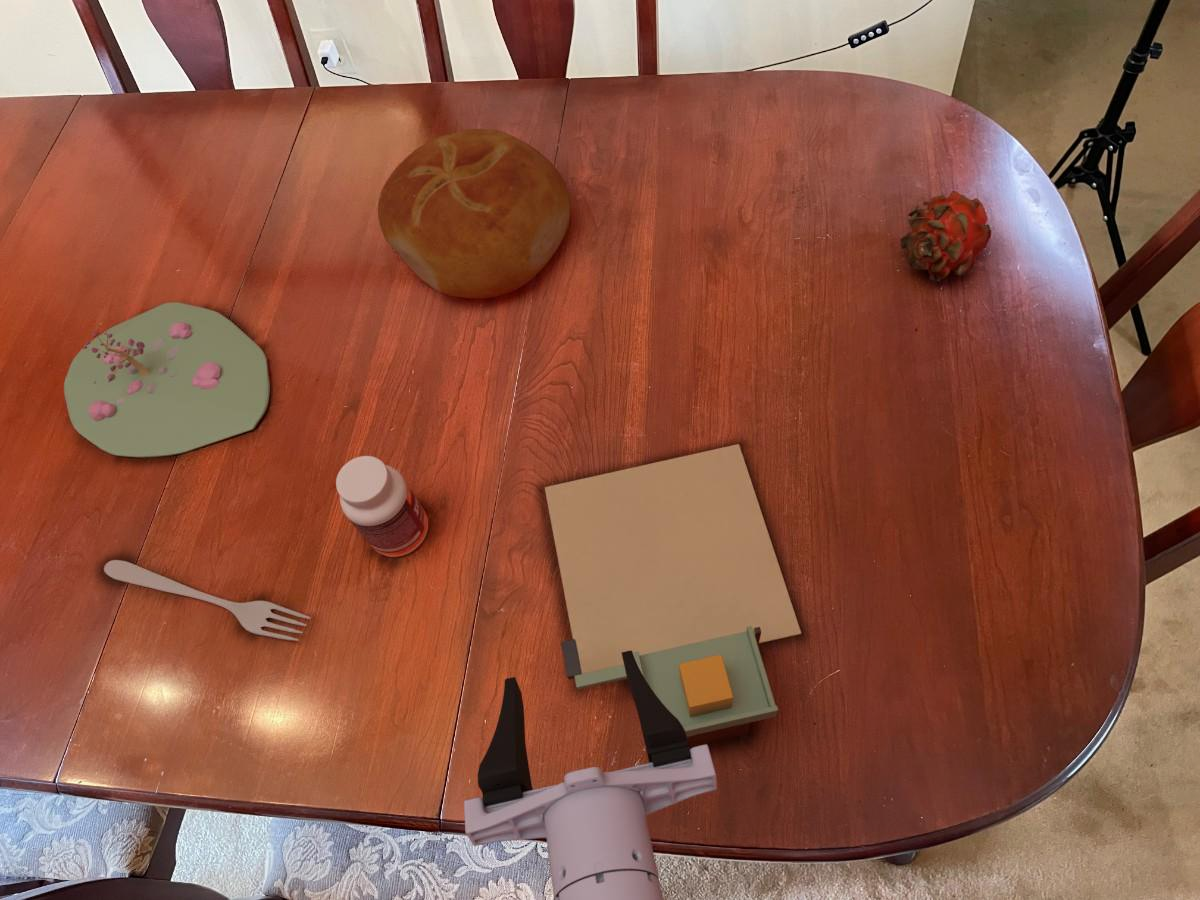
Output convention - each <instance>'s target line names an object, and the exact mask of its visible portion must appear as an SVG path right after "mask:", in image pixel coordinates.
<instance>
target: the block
mask: <svg viewBox="0 0 1200 900" xmlns="http://www.w3.org/2000/svg"><path fill="white" fill-rule="evenodd" d="M679 676H680V680H681V684H682V688H683V692H684V696H685V700H686V704H687V708H688V712H689V716H690V717H694V716H698V715H702V714H707V713H711V712H716V711H720V710H724V709H729V708H732V702H733V694H732V690H731V687H730V683H729V680H728V676H727V672H726V669H725V665H724V661H723V658H722V655H721V654H720V655H716V656H712V657H707V658H703V659H698V660H694V661H689V662H685V663H681V664H679Z"/></svg>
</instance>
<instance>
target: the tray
mask: <svg viewBox="0 0 1200 900" xmlns="http://www.w3.org/2000/svg"><path fill="white" fill-rule="evenodd" d="M560 645H561V652H562V657H563V662H564V667H565V675H566V678H567V679H568V680H572V679H574V681H575V687H576V689H577V691H579V690H583V689H588V688H592V687H596V686H601V685H605V684H611V683H614V682H619V681H623V680H627V675H626V671H625V666H624V665H620V666H615V667H611V668H606V669H602V670H597V671H593V672H589V673H584V674H582V671H581V665H580V660H579V655H578V649H577V644H576V641H575V639H573V638H572V639H567V640H564V641H561V642H560ZM720 654H721V655H722V658H723V661H724V665H725V669H726V672H727V676H728V680H729V683H730V687H731V690H732V694H733V702H732V708H729V709H724V710H720V711H716V712H711V713H707V714H702V715H698V716H694V717H690V716H689V712H688V708H687V704H686V700H685V696H684V692H683V688H682V684H681V680H680V676H679V664H681V663H685V662H689V661H694V660H698V659H703V658H707V657H712V656H716V655H720ZM634 657H635V661H636V663H637V665H638V667H639V669H640V671H641V673H642V675H643V676H644V678H645V680H646V681H647V683H648V685H649V686H650V688H651V689H652V690H653V692H654V693H655V695H656V696H657V697H658V698H659V700H660V701H661V702H662V703H663V704H664V706H665V707H666V708H667V709H668V710H669V711H670V712H671V713H672V714H673V715H674V716H675V717H676V718H677V719H678V720H679V722H680V723H681V725H682V726H683V728H684V730H685V732H686V737H688V736H693V735H697V734H701V733H706V732H710V731H715V730H719V729H723V728H728V727H732V726H737V725H741V724H745V723H750V724H751V723H754V722H759V721H762V720H767V719H771V718H776V717H777V714H778V712H779V708H778V705H777V704H776V702H775V699H774V695H773V692H772V688H771V686H770V685H771V684H770V682H769V678H768V675H767V672H766V669H765V665H764V662H763V658H762V655H761V652H760V649H759V645H757V641H756V638H755V635H754V631H753V628H752V626H748V627H747V631H746V632H741V633H737V634H732V635H728V636H724V637H719V638H715V639H710V640H706V641H701V642H697V643H693V644H688V645H684V646H679V647H675V648H670V649H666V650H661V651H657V652H653V653H648V654H644V655H639V652H634Z"/></svg>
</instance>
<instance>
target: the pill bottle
mask: <svg viewBox="0 0 1200 900" xmlns="http://www.w3.org/2000/svg"><path fill="white" fill-rule="evenodd" d="M335 487H336V491H337V493H338V495H339V504H340V508H341V511H342V513H343V514H344V515H345V517H346V518H347V519H348V520H349V521H350V523H351V524H352V525H353V526H354V527H355V529H356V530H357V531H358V532H359V533H360V535H361V536H362V537H363V538H364V540H365V541H366V542H367V544H368V545H370V546H371V548H372V549H373V550H374V551H375V552H377V553H378V554H380V555H383V556H386V557H389V558H398V557H402V556H406V555H409V554H410V553H412V552H414V551H415V550H416V549H417V548H419V547H420V546H421V544H422V543H423V542H424V540H425V539H426V536H427V534H428V530H429V517H428V516H427V513H426V511H425V509H424V507H423V506H422V505H421V503H420V501H419V500H418V498H417V496H416V495H415V494H414V492H413V490H412V489H411V487H410V486H409V484H408V482H407V481H406V480H405V478H404V476H403V475H402V474H401V472H400V471H398V470H397V469H396V468H394V467H393V466H390V465H388V464H385V463H384V462H383V461H382V460H381V459H380V458H378V457H375V456H372V455H361V456H356V457H354V458H352V459H350V460H349V461H347V462H346V463H345V464H344V465H343V466H342V467H341V468H340V469H339V471H338V474H337V475H336V479H335Z"/></svg>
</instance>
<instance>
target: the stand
mask: <svg viewBox="0 0 1200 900" xmlns="http://www.w3.org/2000/svg"><path fill="white" fill-rule="evenodd" d="M754 635H755V638H756V641H757V645H758V646H759V645H760V644H759V641H760V636H761V629H760V627H756V628H754ZM750 726H751V722H750V723H745V724H741V725H737V726H732V727H728V728H723V729H719V730H715V731H710V732H706V733H701V734H697V735H693V736H688V737H687V742H688V746H689V749H691V748H693V747H697V746H701V745H705V744H707V745H709V744H713V743H716V742H717V743H718V742H722V741H726V740H730V739H735V738H739V737H742V736H747V735H748V732H749V729H750Z"/></svg>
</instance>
